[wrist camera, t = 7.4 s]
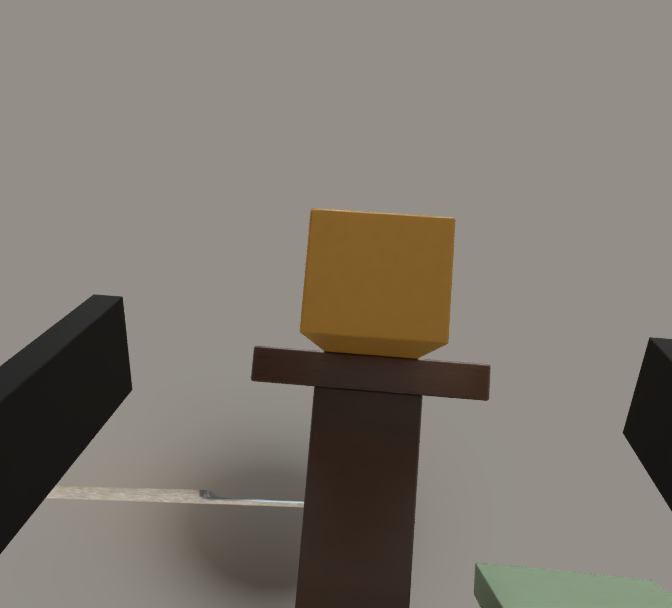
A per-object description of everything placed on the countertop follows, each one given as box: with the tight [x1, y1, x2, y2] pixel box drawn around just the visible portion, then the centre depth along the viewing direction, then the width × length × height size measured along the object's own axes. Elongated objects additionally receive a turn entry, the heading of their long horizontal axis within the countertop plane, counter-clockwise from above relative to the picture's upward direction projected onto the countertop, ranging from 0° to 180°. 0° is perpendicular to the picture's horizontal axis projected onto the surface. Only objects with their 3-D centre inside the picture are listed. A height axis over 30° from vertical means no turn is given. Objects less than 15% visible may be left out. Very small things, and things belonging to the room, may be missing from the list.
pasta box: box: [300, 209, 455, 359], centre depth 27 cm, size 22×4×4 cm, turn 177°
